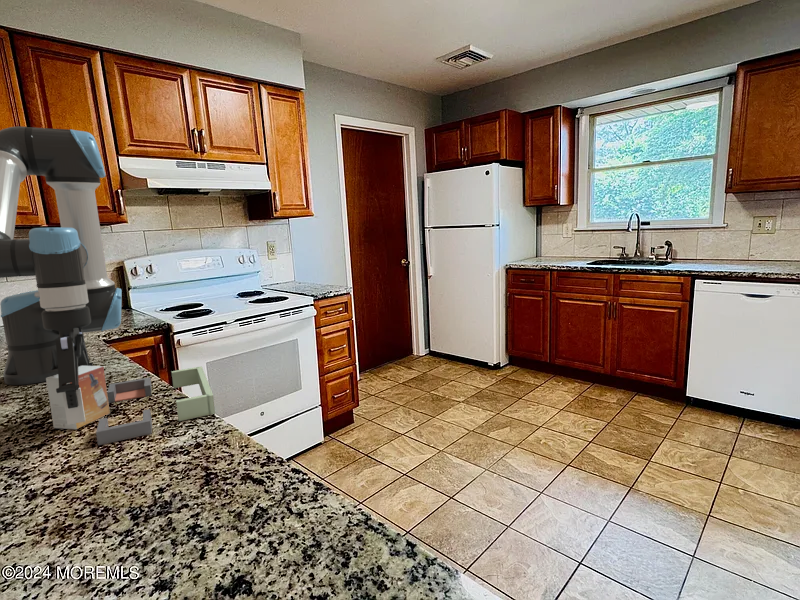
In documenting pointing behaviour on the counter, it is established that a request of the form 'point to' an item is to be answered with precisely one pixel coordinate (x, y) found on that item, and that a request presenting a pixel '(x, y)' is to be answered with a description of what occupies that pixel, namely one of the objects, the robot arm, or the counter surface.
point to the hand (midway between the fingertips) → (81, 410)
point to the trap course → (141, 389)
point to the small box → (91, 396)
